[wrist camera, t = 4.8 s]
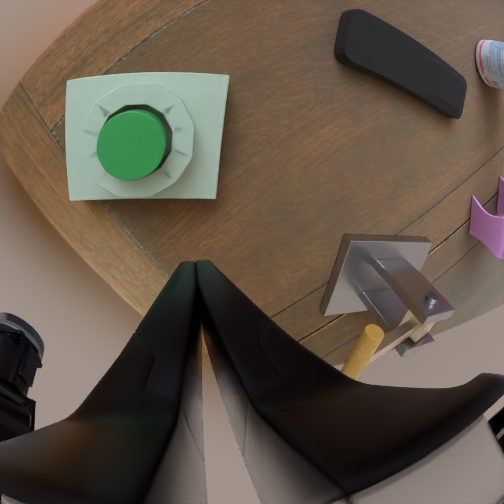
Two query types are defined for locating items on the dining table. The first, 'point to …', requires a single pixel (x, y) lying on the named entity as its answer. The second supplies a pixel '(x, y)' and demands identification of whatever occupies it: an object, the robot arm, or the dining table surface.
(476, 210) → the toy chair
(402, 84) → the remote control
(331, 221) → the dining table surface
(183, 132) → the push button base
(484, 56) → the pill bottle
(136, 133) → the button
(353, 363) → the latch lever
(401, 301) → the latch bracket
